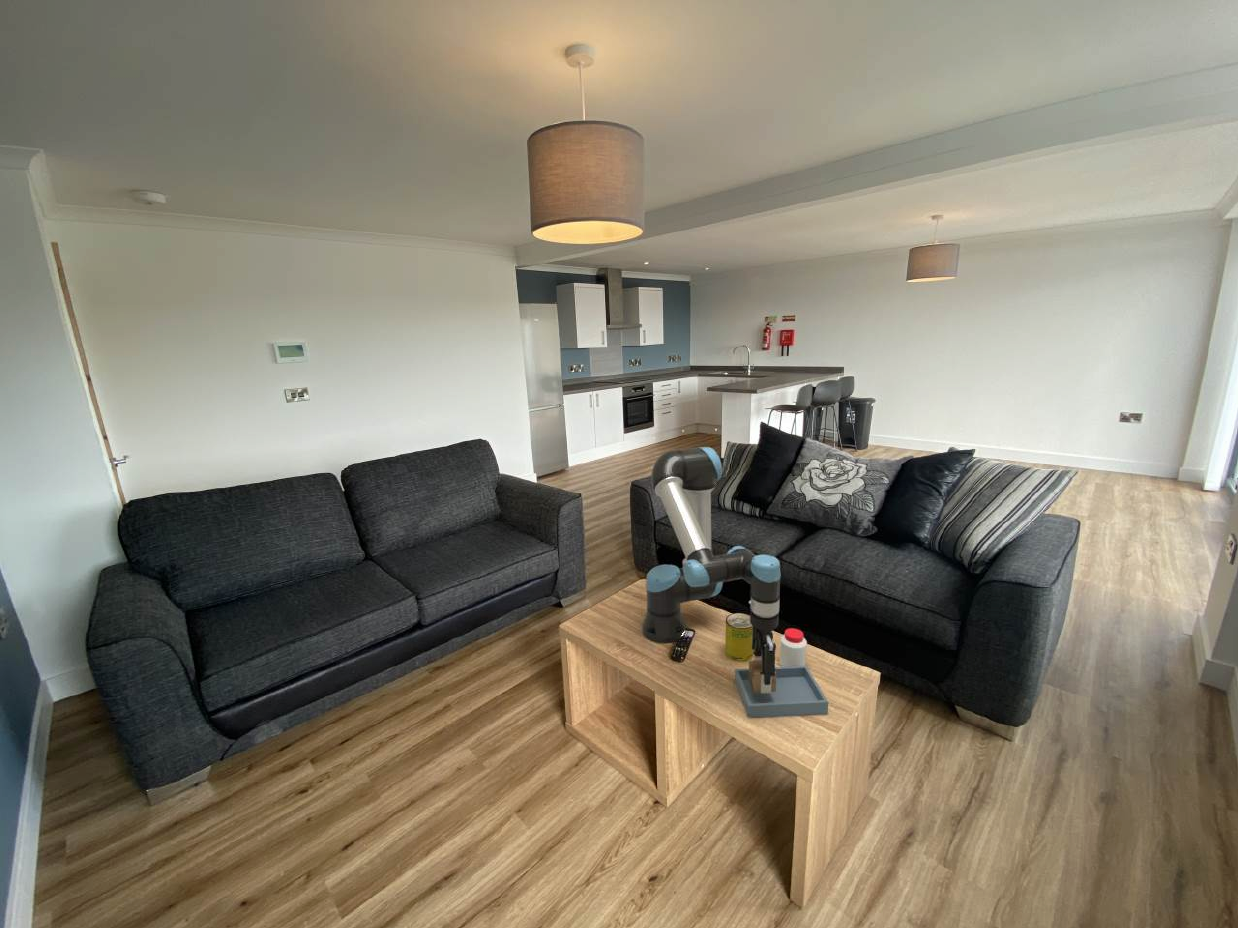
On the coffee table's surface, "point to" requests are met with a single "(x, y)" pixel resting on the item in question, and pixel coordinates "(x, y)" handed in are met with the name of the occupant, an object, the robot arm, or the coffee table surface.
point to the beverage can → (739, 637)
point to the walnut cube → (758, 676)
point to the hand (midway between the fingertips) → (762, 684)
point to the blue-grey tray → (783, 694)
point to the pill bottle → (793, 648)
